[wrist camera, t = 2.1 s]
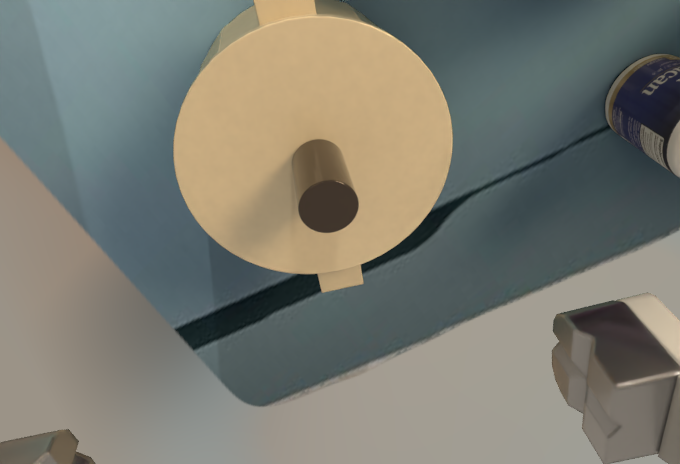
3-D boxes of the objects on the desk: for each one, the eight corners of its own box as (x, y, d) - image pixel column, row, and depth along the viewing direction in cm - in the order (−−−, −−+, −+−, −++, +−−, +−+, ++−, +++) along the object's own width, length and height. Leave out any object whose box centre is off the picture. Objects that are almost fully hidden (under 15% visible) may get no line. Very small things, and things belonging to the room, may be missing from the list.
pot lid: (220, 283, 29) (216, 353, 25) (132, 44, 22) (105, 84, 18) (451, 234, 29) (486, 294, 25) (438, -17, 22) (483, 7, 18)
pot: (241, 242, 36) (240, 319, 30) (150, -40, 26) (121, -15, 20) (413, 205, 36) (447, 274, 30) (384, -87, 27) (426, -75, 20)
